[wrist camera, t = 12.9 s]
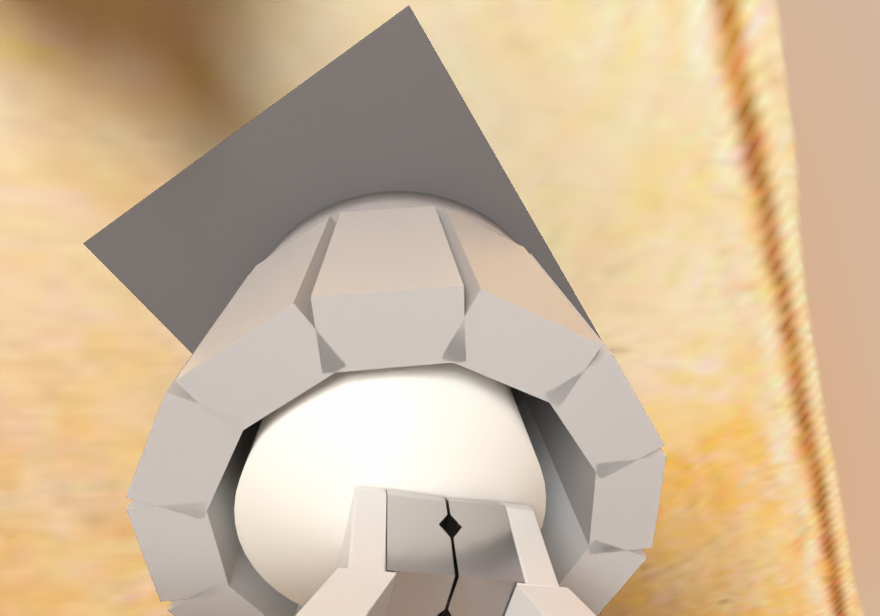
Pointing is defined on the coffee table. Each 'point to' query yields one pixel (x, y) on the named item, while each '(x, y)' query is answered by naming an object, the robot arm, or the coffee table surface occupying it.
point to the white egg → (375, 461)
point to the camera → (366, 316)
